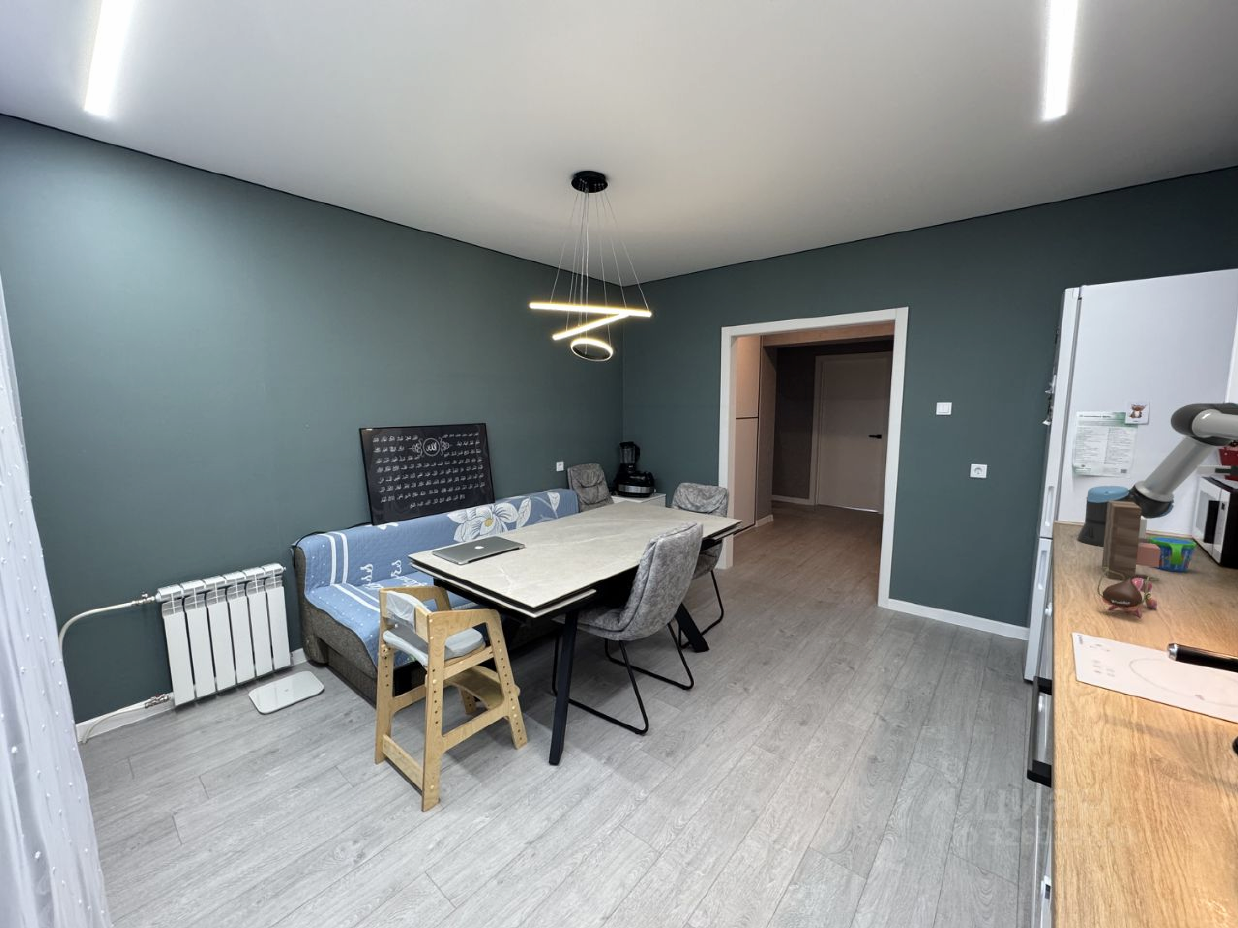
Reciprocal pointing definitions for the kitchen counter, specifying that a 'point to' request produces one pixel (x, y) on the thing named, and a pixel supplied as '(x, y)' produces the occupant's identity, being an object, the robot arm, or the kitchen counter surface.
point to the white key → (1143, 527)
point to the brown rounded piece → (1128, 594)
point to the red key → (1148, 555)
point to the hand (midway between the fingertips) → (1197, 469)
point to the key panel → (1121, 539)
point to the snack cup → (1174, 553)
